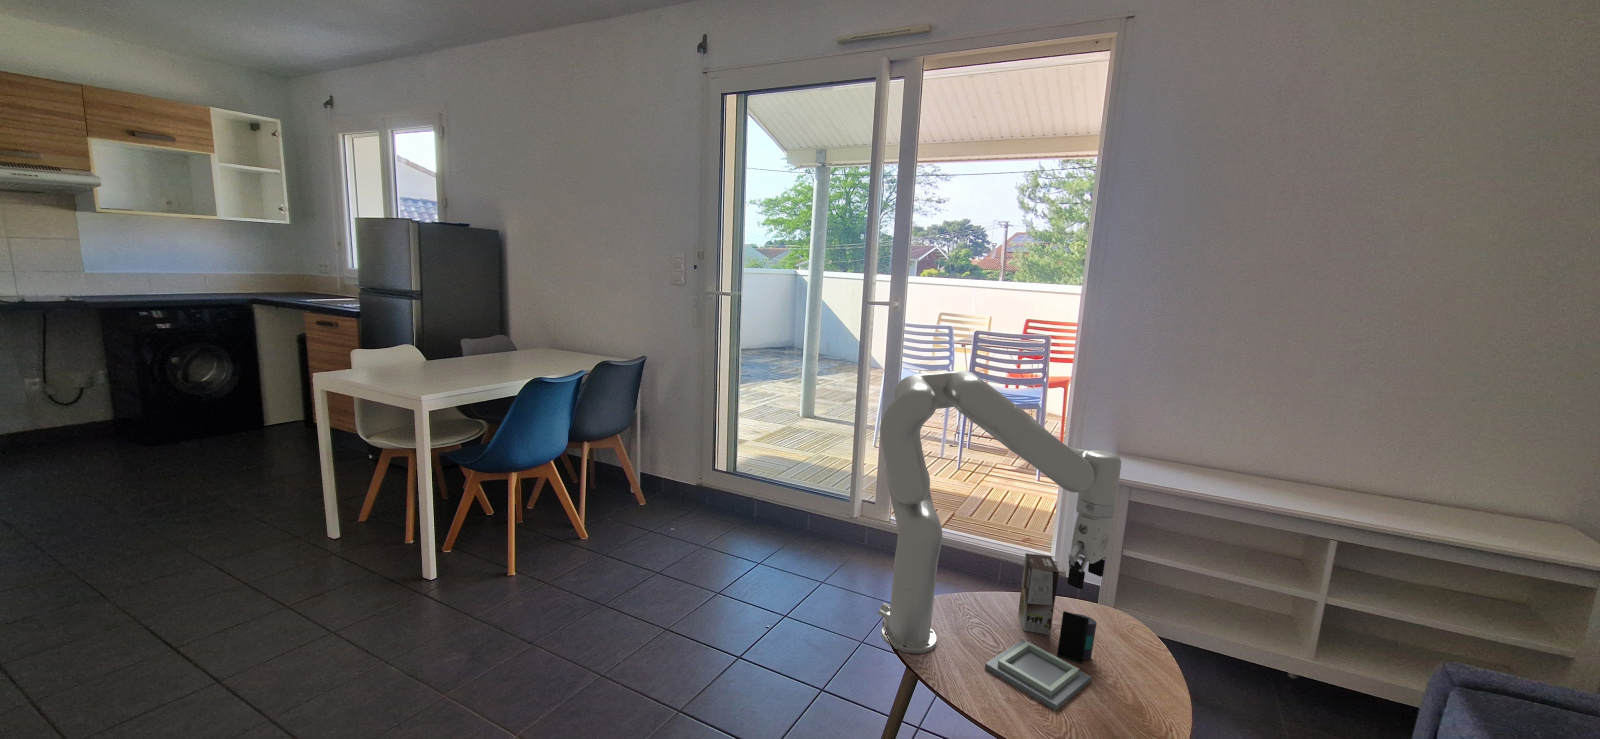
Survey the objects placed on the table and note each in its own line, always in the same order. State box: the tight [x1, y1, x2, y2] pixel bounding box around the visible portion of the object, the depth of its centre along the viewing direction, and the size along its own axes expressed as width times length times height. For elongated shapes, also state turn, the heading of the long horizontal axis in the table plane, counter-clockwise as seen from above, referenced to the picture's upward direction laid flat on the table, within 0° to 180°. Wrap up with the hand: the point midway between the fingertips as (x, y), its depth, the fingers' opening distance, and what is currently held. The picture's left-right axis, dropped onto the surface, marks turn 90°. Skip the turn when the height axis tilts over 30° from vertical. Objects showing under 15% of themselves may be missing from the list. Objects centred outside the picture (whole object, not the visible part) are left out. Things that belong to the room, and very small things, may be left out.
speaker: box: [1056, 610, 1097, 665], centre depth 139 cm, size 8×6×10 cm
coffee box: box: [1018, 553, 1060, 636], centre depth 150 cm, size 9×6×16 cm
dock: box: [984, 639, 1092, 711], centre depth 131 cm, size 16×15×2 cm
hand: (1085, 580), depth 137 cm, fingers open, 9 cm apart
